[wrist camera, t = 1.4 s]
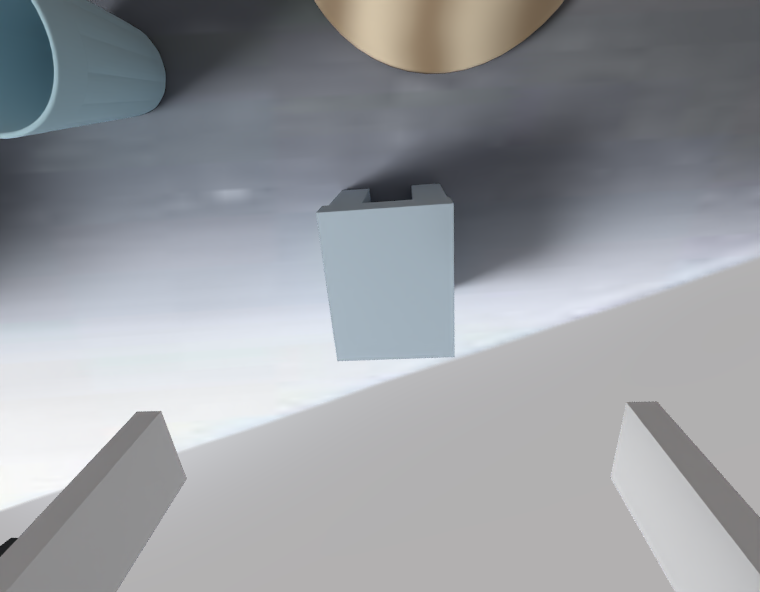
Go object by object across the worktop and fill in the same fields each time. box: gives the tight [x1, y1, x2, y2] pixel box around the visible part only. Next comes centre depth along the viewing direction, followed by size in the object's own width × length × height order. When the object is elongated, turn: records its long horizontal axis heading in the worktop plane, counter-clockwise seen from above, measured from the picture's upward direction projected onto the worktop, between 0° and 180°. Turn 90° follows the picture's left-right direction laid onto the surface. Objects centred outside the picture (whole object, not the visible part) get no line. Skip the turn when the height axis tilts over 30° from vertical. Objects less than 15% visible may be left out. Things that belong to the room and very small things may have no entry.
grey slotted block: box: [316, 183, 454, 361], centre depth 26 cm, size 7×9×9 cm
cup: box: [0, 0, 166, 139], centre depth 21 cm, size 8×8×10 cm
